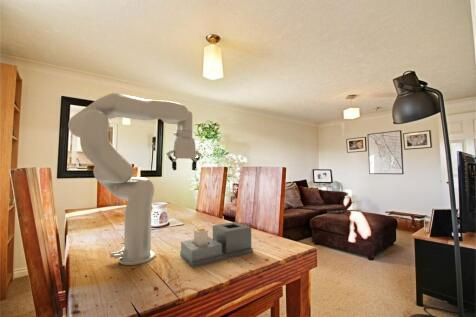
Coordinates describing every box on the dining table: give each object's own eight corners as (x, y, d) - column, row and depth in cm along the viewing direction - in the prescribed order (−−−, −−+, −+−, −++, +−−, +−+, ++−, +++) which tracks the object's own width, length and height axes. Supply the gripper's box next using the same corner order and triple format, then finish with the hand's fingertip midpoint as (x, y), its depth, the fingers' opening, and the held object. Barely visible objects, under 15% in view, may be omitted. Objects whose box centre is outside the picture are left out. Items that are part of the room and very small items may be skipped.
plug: (198, 256, 83) (198, 230, 83) (193, 252, 87) (193, 227, 87) (207, 253, 85) (207, 228, 86) (202, 250, 89) (202, 226, 90)
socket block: (192, 267, 76) (192, 238, 77) (180, 254, 88) (180, 229, 89) (252, 252, 90) (252, 227, 91) (235, 243, 102) (234, 221, 103)
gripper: (169, 133, 101) (168, 170, 100) (203, 135, 110) (203, 170, 109) (164, 135, 107) (164, 170, 106) (198, 138, 116) (198, 170, 115)
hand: (184, 170), depth 108 cm, fingers open, 9 cm apart
